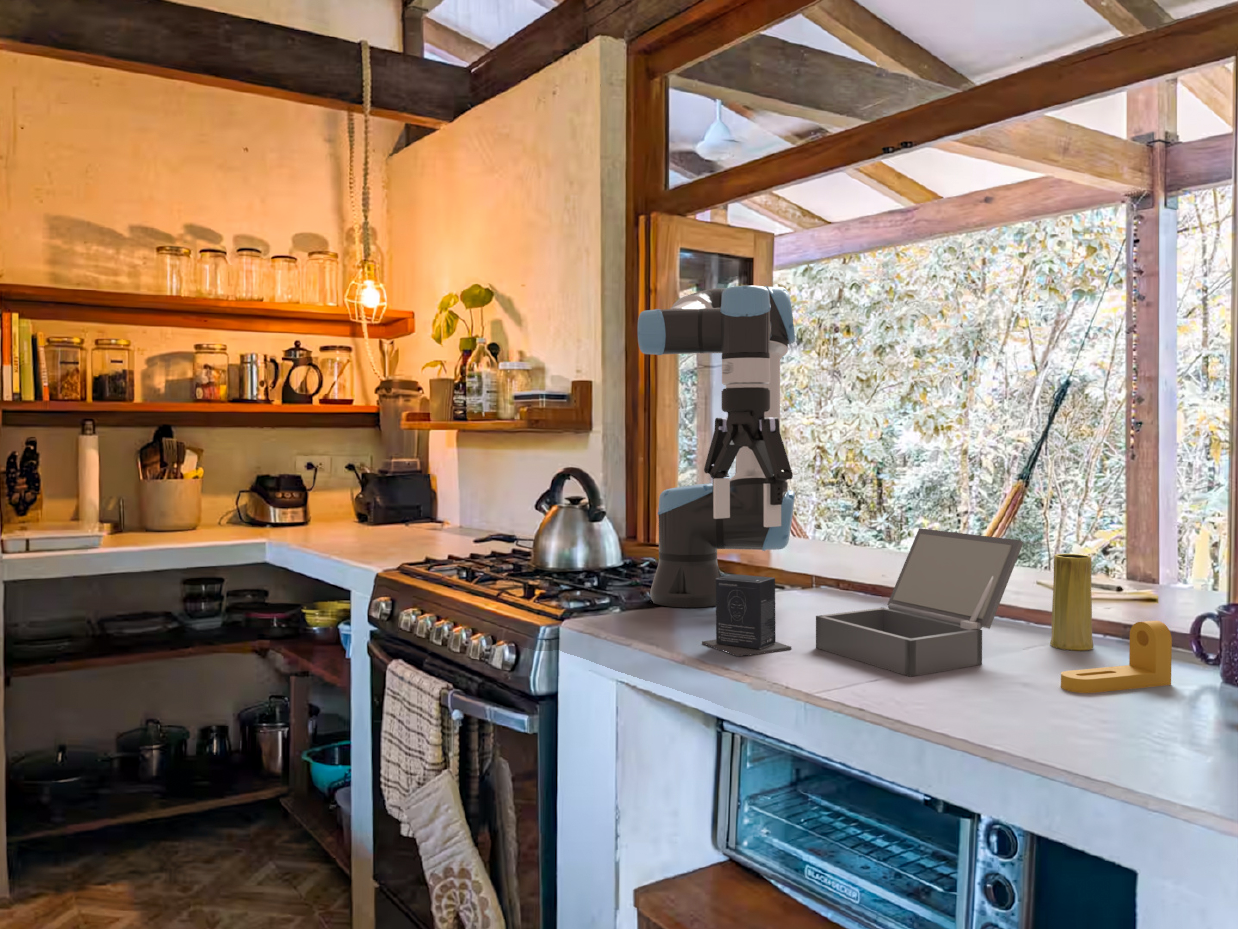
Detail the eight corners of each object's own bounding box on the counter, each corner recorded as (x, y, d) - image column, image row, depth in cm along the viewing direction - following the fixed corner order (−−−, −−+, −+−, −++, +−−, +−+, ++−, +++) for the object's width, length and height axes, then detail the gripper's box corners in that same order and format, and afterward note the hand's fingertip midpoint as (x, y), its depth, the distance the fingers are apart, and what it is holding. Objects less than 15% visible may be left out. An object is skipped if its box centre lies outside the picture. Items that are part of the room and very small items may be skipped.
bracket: (1144, 677, 130) (1145, 617, 129) (1171, 686, 125) (1172, 624, 125) (1053, 686, 125) (1053, 624, 125) (1077, 695, 121) (1078, 631, 121)
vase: (1090, 643, 149) (1091, 554, 149) (1096, 652, 144) (1097, 559, 143) (1048, 641, 151) (1049, 552, 151) (1052, 649, 146) (1053, 557, 145)
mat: (702, 643, 151) (702, 641, 151) (753, 637, 156) (753, 634, 156) (738, 656, 142) (738, 654, 142) (791, 649, 147) (791, 646, 147)
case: (815, 647, 148) (815, 535, 147) (921, 632, 158) (922, 528, 158) (910, 676, 130) (910, 549, 130) (1022, 657, 141) (1023, 540, 140)
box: (776, 643, 149) (776, 577, 149) (759, 650, 144) (759, 581, 144) (732, 637, 154) (732, 572, 153) (714, 644, 149) (714, 577, 149)
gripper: (683, 388, 157) (683, 516, 158) (775, 384, 135) (775, 532, 136) (720, 389, 160) (721, 513, 161) (816, 384, 138) (816, 528, 139)
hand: (746, 522), depth 149 cm, fingers open, 13 cm apart
